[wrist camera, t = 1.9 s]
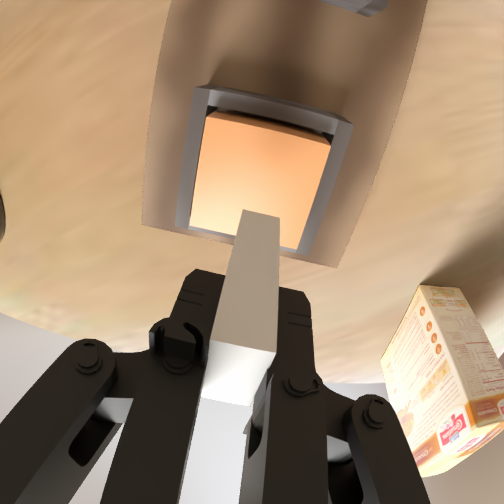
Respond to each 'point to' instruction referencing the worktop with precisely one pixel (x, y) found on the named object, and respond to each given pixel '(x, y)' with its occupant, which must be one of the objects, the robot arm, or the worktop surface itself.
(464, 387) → the coffeecake box
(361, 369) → the worktop surface
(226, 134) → the orange key
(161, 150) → the key panel
